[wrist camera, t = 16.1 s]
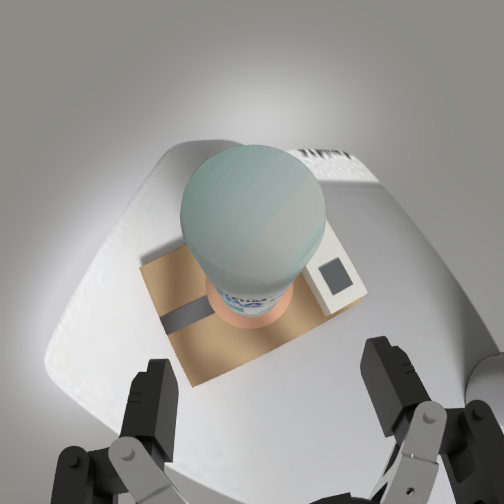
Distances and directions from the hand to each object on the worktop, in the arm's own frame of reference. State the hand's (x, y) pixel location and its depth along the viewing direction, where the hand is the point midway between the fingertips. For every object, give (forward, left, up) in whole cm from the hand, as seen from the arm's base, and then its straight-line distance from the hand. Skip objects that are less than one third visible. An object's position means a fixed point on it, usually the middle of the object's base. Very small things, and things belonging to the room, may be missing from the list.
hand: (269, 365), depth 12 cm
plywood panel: (-2, -6, -21) cm, 22 cm away
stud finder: (-10, -4, -19) cm, 22 cm away
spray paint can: (-2, -6, -19) cm, 21 cm away
